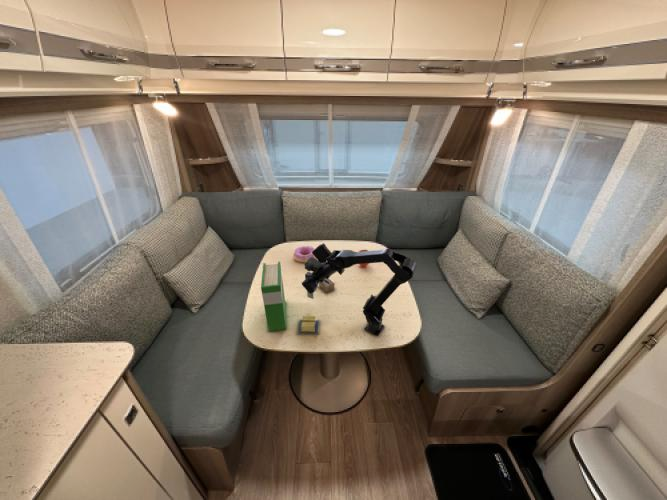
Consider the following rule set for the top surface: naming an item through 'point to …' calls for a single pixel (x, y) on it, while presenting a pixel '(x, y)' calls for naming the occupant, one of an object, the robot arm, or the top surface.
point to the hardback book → (273, 296)
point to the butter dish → (309, 325)
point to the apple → (366, 263)
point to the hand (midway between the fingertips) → (307, 283)
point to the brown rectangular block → (327, 285)
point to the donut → (303, 250)
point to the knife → (307, 291)
